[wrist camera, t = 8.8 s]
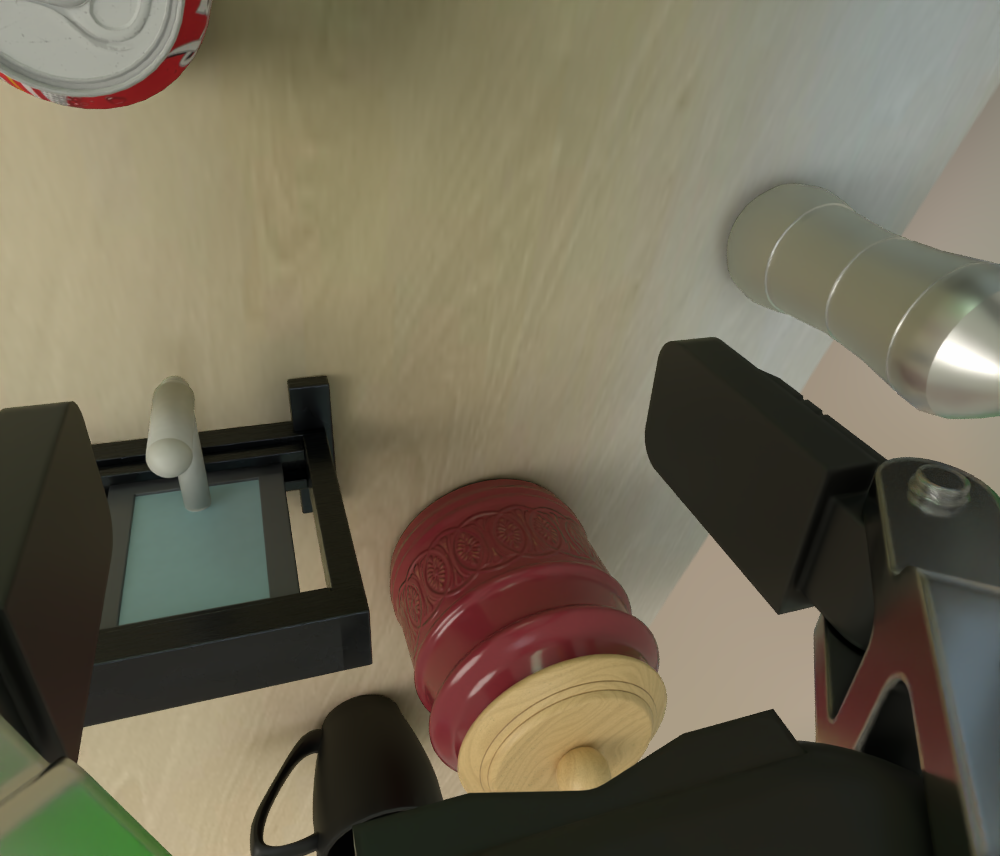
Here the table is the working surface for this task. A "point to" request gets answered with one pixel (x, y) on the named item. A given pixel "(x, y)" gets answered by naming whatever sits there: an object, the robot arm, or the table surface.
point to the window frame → (253, 625)
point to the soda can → (98, 48)
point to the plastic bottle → (876, 296)
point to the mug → (354, 776)
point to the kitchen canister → (523, 643)
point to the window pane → (194, 527)
